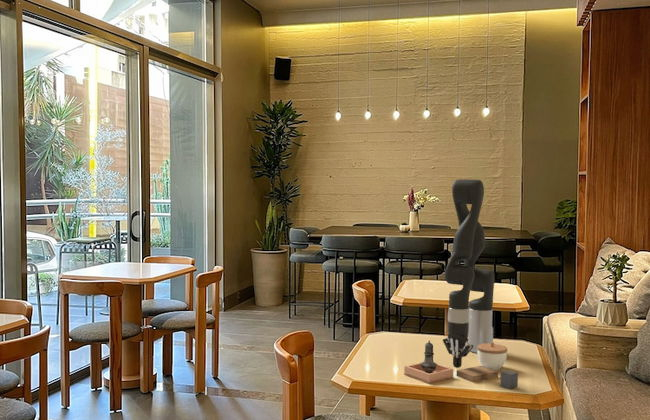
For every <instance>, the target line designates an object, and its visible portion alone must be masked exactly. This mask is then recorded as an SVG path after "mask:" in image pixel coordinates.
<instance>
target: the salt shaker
mask: <svg viewBox="0 0 650 420" xmlns="http://www.w3.org/2000/svg"><path fill="white" fill-rule="evenodd" d="M423 354H424V360H423V361H421V362H422V363H421V362H419V363H420V364H421V367H422V369H423V370H424V371H423V372H426V373H434V372H433V371H434V370H435V369H436V366H437V364H438V363H437V364H436V362H434V355H435V352H434V344H433V343H432V342H431V341H430V340H428V341H427V343H425V345H424V352H423Z"/></svg>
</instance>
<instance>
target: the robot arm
mask: <svg viewBox="0 0 650 420" xmlns="http://www.w3.org/2000/svg"><path fill="white" fill-rule="evenodd" d="M451 193H452V200H453V204H454V205H453V206H454V209H455V212H456V216H457V221H458V228H457V230H456V232H455V234H454V237H453V246H452V251H451V255H450V257H449V258H450V259H449V261H448V263H447V265H446V268H445V270H444V279H445V282H447V283H448V284H450V285H456V286H457V285H458V286H462V288H461V289H459V290H452V291H450V292H449V295H448V312H447V332H448V334H447V337H446V338H443V339H442V342H443V344H444V346H445V348H446V351H447V352H448V354H449V355H451V356H452V365H453V368H456V369H459V368H461V367H462V365H463V364H462V362H463V359H462V358H465V357H467V356H468V354H470V352H472V353H476V354H478V352H477V351H478V349H477V346H478V345H479V344H485V343H491V342H493V343H494V326H493V307H494V306H493V304H494V288H495V273H494V271H493V270H492V269H485V268H484V269H483V268H482V269H481V268H476V267H475V264H476V261H478V258H479V257H480V255H481V254H482V252H483V251H484V249H485V247H486V237H485V230H484V227H483V225H482V224H481V223H480V222H479V217H480V215H481V214H480V213H481V209H482V206H483V205H482V204H483V201H484V195H485V186H484V183H483V182H482V180H481V179H465V178H464V179H462V178H460V179H456V180H454V181H453V183H452V187H451ZM468 205H471V206H470V210H469V208H468ZM462 261H463V262H464V265H460V264H459V263H460V262H462ZM471 292H478V293H483V296H481V297H479V298H474V299H471V300H470V293H471Z"/></svg>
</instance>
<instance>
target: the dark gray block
mask: <svg viewBox="0 0 650 420" xmlns="http://www.w3.org/2000/svg"><path fill="white" fill-rule="evenodd" d="M499 381H500V382H499V387H502V388H504V389H507V390H513V389H517V388H518V386H519V385H518V383H519V382H518V381H519V372H517V371H514V370H511V369H505V370H502V371H501V370H500V379H499ZM516 387H517V388H516Z"/></svg>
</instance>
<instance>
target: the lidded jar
mask: <svg viewBox="0 0 650 420" xmlns="http://www.w3.org/2000/svg"><path fill="white" fill-rule="evenodd" d="M477 349H478V351H477V352H478V353H477V360H478V361H479V364H480V366H484V367H487V368H489V369H492V370H495V371H499V370H500V369H501V368H502V367H503V366H504V365H505V363H506V361H507V355H508V353H507V352H508V347H507V346H506V345H502V344H499V343H498V344H497V343H495V342H494V341H493V342H491V343H485V344H479V345H478V346H477Z"/></svg>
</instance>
